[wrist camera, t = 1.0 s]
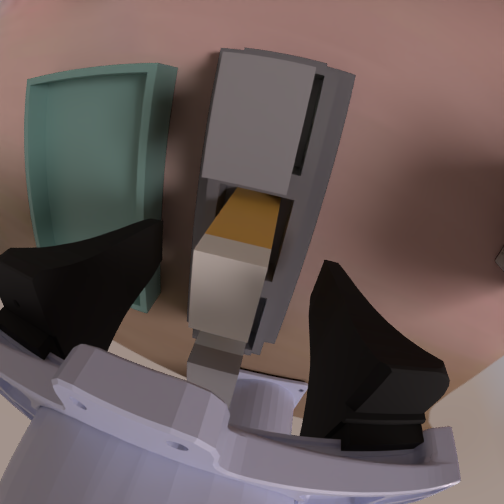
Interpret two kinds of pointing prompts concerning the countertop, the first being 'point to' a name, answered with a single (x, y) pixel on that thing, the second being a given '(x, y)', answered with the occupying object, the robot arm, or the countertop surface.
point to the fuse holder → (294, 203)
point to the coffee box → (500, 259)
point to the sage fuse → (257, 121)
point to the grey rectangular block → (215, 364)
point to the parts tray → (97, 152)
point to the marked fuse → (233, 265)
